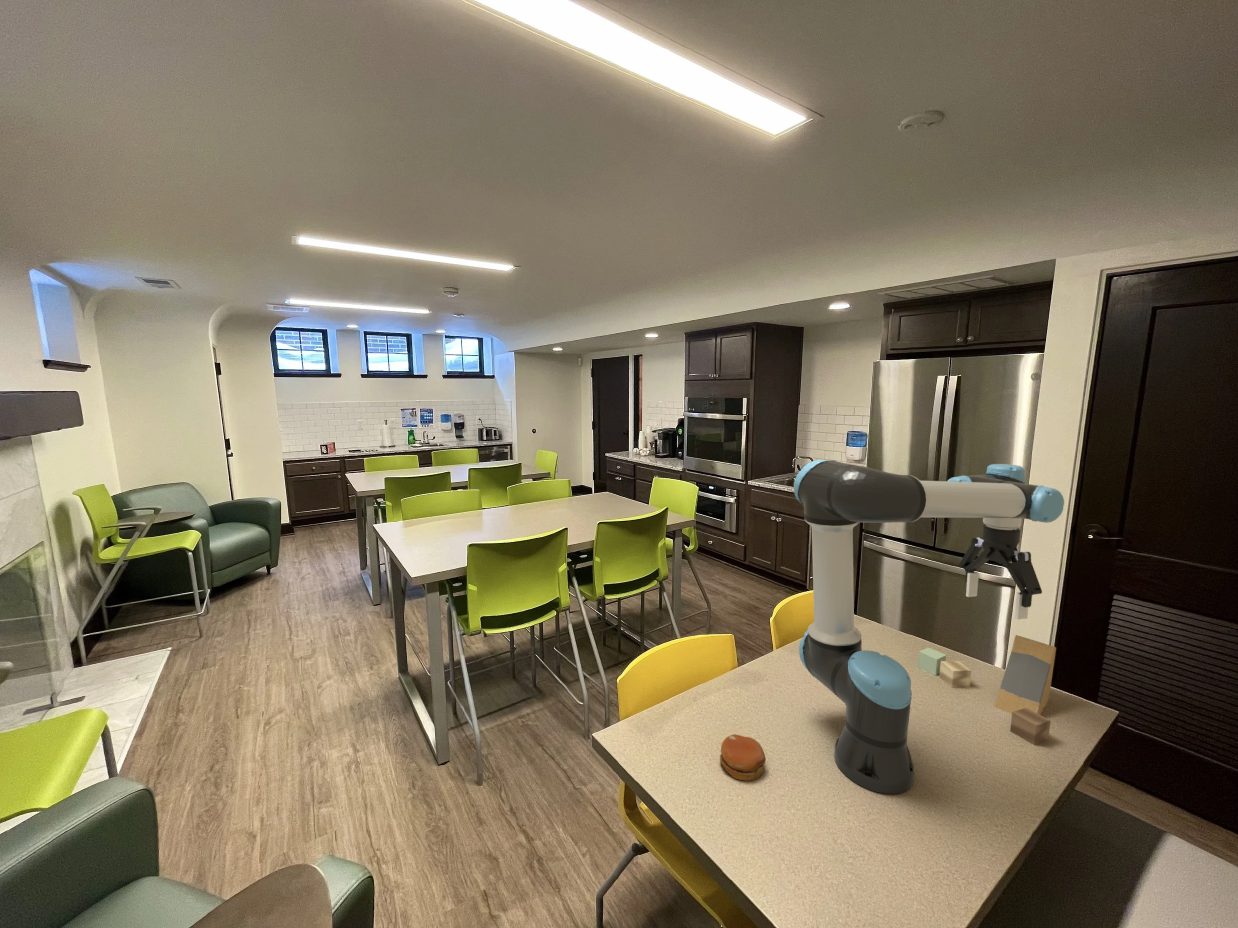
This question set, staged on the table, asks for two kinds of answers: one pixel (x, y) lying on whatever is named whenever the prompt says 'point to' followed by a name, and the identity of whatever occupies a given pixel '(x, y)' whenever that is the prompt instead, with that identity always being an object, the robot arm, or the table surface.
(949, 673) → the maple cube
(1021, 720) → the walnut cube
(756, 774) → the burger
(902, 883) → the table surface
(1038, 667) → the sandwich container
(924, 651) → the sage cube
